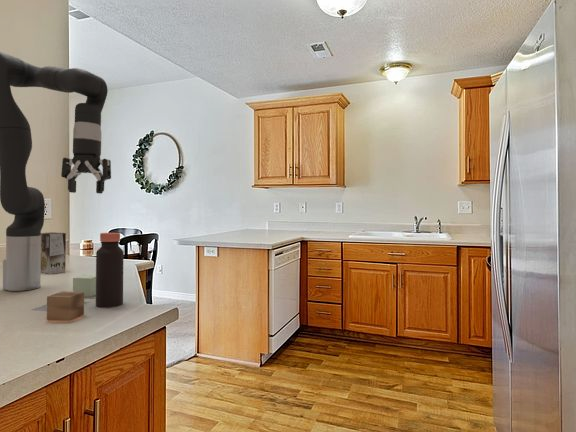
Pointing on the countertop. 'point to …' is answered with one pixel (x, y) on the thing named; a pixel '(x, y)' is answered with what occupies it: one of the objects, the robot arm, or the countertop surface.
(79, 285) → the sage block
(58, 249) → the coffee box
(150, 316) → the countertop surface
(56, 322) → the terracotta coaster
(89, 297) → the code tile
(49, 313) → the walnut block
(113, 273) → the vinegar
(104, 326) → the countertop surface
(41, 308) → the tile
